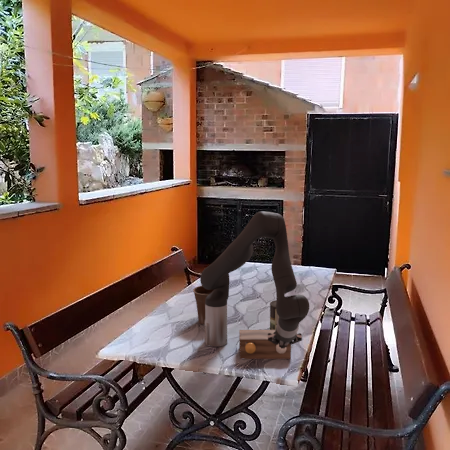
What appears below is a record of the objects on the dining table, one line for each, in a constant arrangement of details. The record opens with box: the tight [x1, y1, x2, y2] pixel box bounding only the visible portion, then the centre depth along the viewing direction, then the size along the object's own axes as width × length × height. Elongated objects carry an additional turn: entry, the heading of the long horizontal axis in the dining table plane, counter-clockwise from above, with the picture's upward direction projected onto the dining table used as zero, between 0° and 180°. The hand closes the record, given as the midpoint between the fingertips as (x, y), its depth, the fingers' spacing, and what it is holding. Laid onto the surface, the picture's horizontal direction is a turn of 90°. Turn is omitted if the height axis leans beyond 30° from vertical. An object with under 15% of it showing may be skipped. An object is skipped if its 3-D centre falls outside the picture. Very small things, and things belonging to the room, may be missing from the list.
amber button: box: [245, 342, 256, 354], centre depth 191 cm, size 6×4×4 cm, turn 0°
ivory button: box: [276, 344, 286, 354], centre depth 190 cm, size 6×4×4 cm, turn 0°
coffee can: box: [269, 300, 279, 330], centre depth 214 cm, size 10×10×14 cm
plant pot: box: [192, 285, 214, 326], centre depth 229 cm, size 16×16×16 cm
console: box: [238, 329, 292, 360], centre depth 194 cm, size 10×20×8 cm, turn 90°
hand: (282, 346), depth 182 cm, fingers closed
